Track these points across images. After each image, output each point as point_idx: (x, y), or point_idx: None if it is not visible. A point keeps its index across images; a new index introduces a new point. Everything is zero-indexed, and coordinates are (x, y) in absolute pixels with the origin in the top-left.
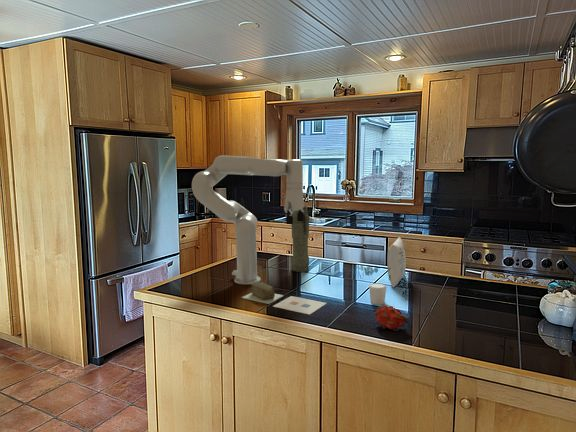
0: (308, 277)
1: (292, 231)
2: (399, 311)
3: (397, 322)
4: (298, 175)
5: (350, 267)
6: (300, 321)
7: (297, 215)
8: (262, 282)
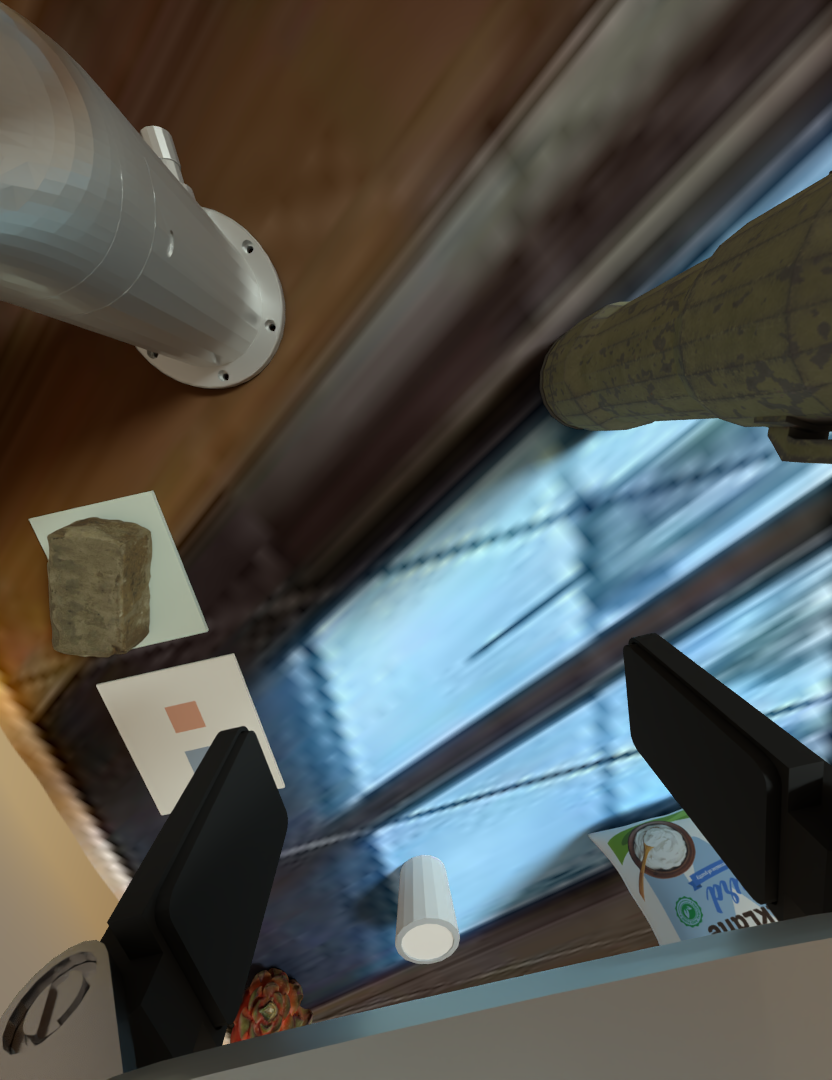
0: (495, 518)
1: (758, 248)
2: None
3: None
4: None
5: (773, 556)
6: (100, 829)
7: (710, 723)
8: (116, 556)
